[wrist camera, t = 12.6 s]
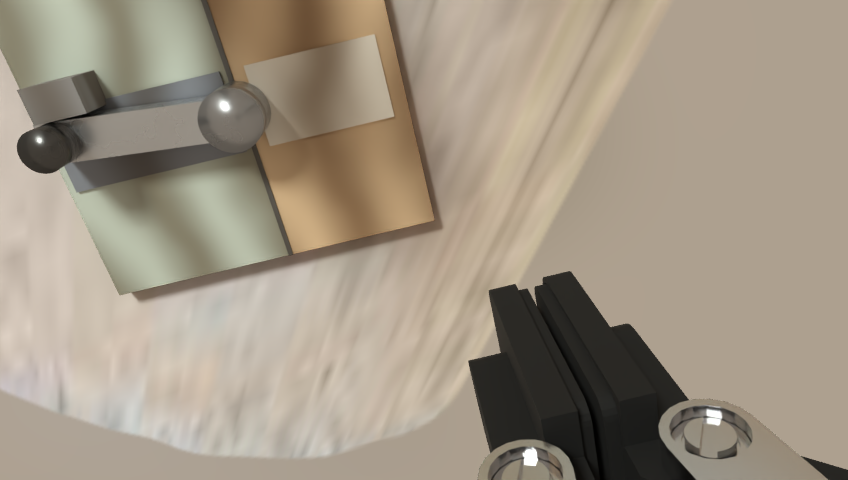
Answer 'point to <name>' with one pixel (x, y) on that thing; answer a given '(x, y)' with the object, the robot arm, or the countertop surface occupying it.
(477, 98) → the countertop surface
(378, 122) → the lock board
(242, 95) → the arm
